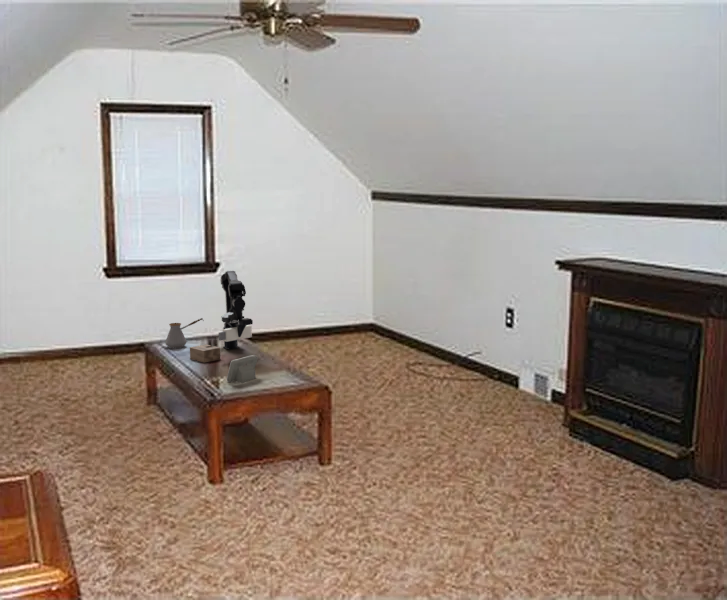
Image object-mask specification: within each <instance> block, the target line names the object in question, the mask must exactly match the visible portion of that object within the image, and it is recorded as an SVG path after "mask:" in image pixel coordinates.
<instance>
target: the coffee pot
mask: <svg viewBox="0 0 727 600" xmlns="http://www.w3.org/2000/svg"><path fill="white" fill-rule="evenodd" d="M200 321H202V322H204V319H203V317H201V318H198V319H197V320H194V321H192V322H191V323H188V324H186V325H184V326H183V327H181V325H182V323H181V322H172V323H168V324H169V327H170V329H169V331H168V334H167V336H166V339H165V342H164V343H165V345H166V346H167V347H168V348H169V347H170V348H169V349H181V347H182V348H184V346H186V344H187V339H186V337H185V334H184V333H183V330H184V329H185V328H187V327H189V326H192V325H194V324H196V323H198V322H200Z"/></svg>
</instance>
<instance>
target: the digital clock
mask: <svg viewBox="0 0 727 600" xmlns="http://www.w3.org/2000/svg"><path fill="white" fill-rule="evenodd" d="M257 361H258V355H256V354H252V355H247V356H243V357H241V358H237V359H233V360H232V359H231V361H230V364H229V368H228V372H227V377H226V381H227V382H228V383H231V382H236V383H245V382H249V381H253V380H256V375H257V374H256V365H257Z"/></svg>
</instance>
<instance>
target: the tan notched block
mask: <svg viewBox="0 0 727 600" xmlns="http://www.w3.org/2000/svg"><path fill="white" fill-rule="evenodd" d="M189 357H190V358H189V360H194V361H196V360H197V362H201V363H207V362H208V363H209V362H214V361H218V360H221V347H218V346H212V345H210V344H201V345H196V346H191V347H189Z"/></svg>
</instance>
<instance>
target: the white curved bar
mask: <svg viewBox="0 0 727 600" xmlns="http://www.w3.org/2000/svg"><path fill="white" fill-rule="evenodd" d="M252 329H253V328H252V324H251V325H246V327H245V328H244V330H243V332H242V335H241V337H238V329H237V327H233V328H228V329H223V328H222V331H220V332H218V341H223V342H224V341H226V342H228V341H233V340H237V341H238V340H242V339H249V338H253V335H252V334H253V333H252V332H253V331H252Z"/></svg>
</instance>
